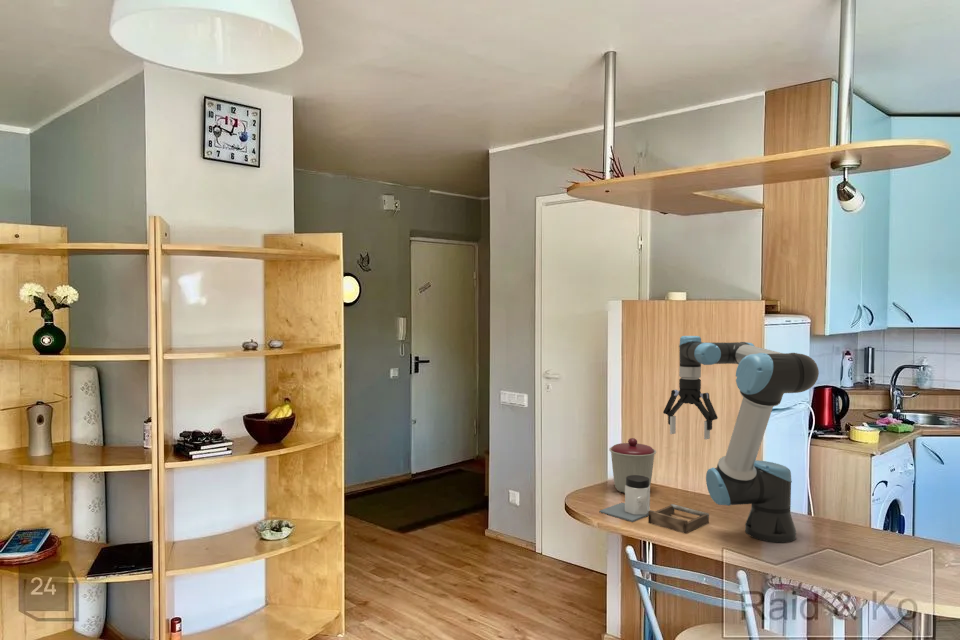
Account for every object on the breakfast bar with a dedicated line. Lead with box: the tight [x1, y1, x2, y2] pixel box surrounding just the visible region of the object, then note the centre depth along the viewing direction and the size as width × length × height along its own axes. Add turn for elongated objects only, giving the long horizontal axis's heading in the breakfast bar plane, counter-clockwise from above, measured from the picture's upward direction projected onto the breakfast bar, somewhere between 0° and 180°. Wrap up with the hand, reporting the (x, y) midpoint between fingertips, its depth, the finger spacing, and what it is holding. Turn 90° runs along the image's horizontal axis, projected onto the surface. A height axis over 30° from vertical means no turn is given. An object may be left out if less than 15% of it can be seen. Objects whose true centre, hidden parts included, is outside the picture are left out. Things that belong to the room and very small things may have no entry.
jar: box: [624, 475, 651, 515], centre depth 235 cm, size 9×8×12 cm
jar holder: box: [647, 503, 710, 534], centre depth 226 cm, size 14×15×4 cm
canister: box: [608, 437, 657, 494], centre depth 262 cm, size 18×18×21 cm
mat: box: [598, 502, 656, 523], centre depth 236 cm, size 14×14×1 cm
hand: (689, 436), depth 242 cm, fingers open, 13 cm apart
